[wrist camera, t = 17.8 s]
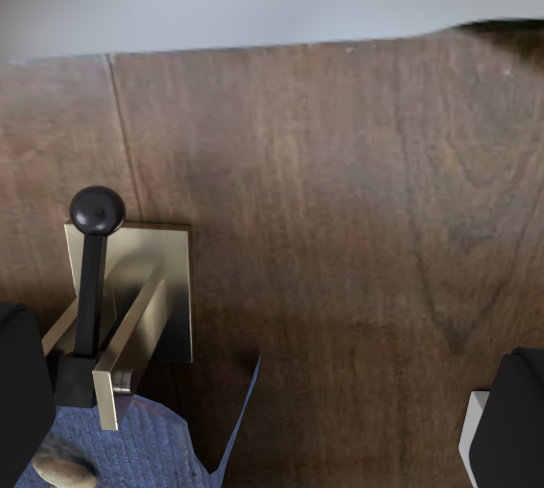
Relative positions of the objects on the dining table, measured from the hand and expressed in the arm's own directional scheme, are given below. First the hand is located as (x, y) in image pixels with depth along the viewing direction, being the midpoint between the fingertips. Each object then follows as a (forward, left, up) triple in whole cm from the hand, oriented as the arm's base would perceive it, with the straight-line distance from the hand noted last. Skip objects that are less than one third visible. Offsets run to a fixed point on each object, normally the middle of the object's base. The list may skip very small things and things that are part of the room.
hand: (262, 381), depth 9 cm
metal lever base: (+13, -11, -23) cm, 29 cm away
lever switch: (+9, -11, -17) cm, 22 cm away
